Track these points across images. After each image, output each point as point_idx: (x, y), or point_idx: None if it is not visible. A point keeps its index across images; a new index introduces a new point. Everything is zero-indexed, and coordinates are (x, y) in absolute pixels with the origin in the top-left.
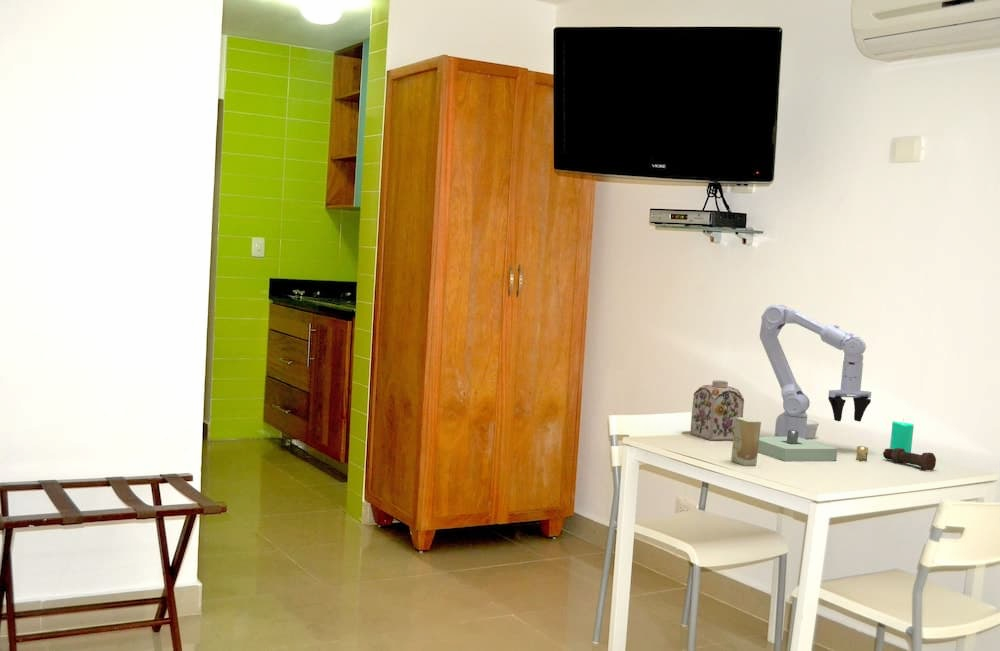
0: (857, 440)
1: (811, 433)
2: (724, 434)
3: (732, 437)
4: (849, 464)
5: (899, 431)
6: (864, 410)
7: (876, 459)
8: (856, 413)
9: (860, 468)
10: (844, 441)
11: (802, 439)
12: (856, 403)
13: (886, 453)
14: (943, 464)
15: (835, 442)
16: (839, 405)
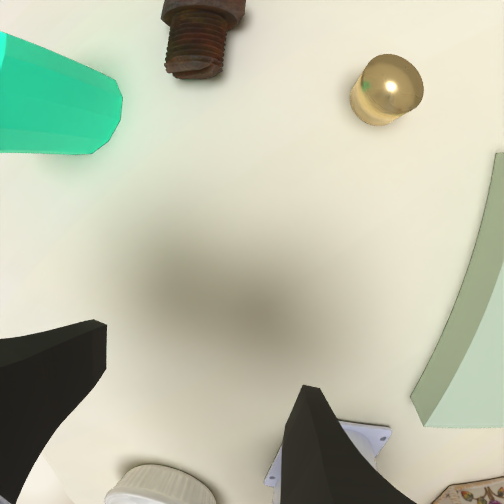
0: None
1: (162, 477)
2: (490, 490)
3: (470, 488)
4: (494, 87)
5: (36, 61)
6: (17, 339)
7: (252, 95)
8: (72, 388)
9: (499, 35)
10: None
11: (472, 376)
12: (22, 451)
13: (220, 50)
14: (59, 4)
15: (115, 407)
16: (399, 491)
